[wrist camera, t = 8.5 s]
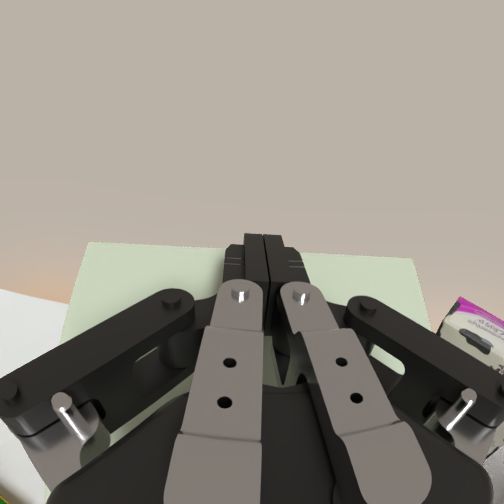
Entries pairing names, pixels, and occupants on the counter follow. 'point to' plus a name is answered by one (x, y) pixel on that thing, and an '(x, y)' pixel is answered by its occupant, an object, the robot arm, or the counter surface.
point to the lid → (207, 284)
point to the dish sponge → (3, 501)
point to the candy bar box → (477, 342)
